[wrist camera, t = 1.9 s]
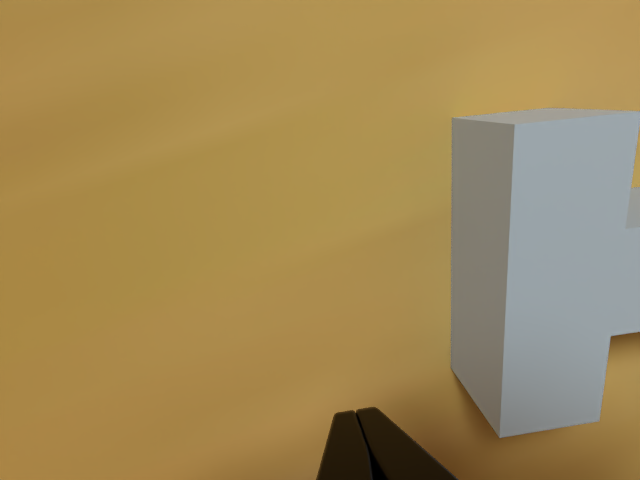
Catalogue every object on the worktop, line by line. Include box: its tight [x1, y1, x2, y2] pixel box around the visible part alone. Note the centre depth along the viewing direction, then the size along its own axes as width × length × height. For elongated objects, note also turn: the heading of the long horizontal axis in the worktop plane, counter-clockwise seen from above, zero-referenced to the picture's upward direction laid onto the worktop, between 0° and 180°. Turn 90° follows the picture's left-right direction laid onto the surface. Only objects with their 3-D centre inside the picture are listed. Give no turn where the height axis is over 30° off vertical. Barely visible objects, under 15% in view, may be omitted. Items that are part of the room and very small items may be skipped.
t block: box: [451, 108, 640, 438], centre depth 15 cm, size 10×10×4 cm
